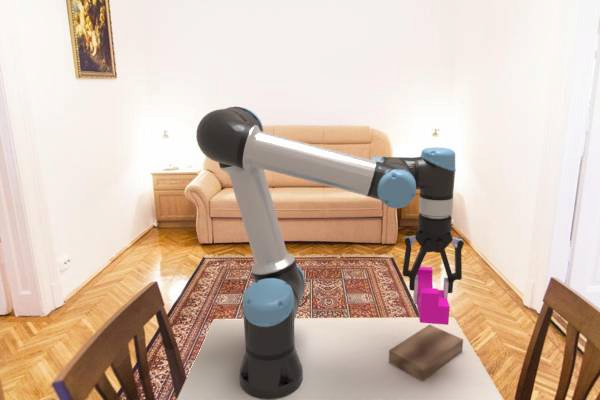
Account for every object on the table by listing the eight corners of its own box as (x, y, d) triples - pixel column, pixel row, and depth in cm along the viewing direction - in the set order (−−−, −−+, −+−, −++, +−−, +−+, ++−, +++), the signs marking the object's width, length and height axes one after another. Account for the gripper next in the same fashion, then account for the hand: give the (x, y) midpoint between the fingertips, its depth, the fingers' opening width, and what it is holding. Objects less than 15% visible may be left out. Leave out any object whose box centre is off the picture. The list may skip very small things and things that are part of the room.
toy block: (448, 324, 99) (450, 294, 98) (419, 322, 101) (421, 292, 99) (439, 294, 114) (441, 267, 112) (415, 293, 115) (416, 266, 113)
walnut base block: (388, 364, 111) (389, 350, 110) (428, 337, 122) (429, 324, 121) (422, 383, 104) (423, 368, 103) (461, 352, 115) (463, 339, 114)
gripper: (476, 211, 105) (468, 299, 110) (393, 208, 109) (390, 293, 114) (481, 220, 98) (473, 313, 103) (392, 216, 102) (389, 306, 107)
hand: (429, 302), depth 109 cm, fingers closed on toy block, 6 cm apart
